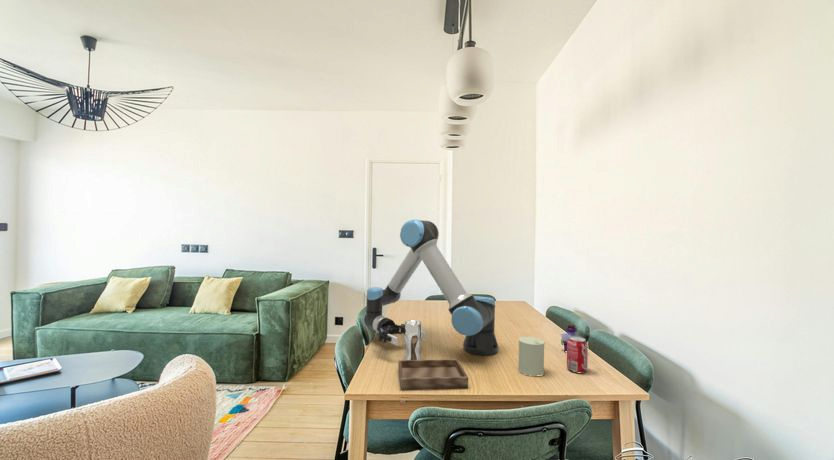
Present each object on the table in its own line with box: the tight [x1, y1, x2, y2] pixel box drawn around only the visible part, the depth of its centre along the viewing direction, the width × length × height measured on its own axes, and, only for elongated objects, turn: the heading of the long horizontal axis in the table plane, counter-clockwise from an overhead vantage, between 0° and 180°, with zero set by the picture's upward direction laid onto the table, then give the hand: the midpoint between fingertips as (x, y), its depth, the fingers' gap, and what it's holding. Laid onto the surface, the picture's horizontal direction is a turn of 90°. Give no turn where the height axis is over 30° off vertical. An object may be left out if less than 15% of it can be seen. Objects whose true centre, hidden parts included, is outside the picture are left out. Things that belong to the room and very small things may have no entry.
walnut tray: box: [397, 358, 469, 391], centre depth 116 cm, size 22×16×4 cm
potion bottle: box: [560, 323, 582, 352], centre depth 145 cm, size 9×9×12 cm
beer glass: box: [403, 319, 423, 360], centre depth 132 cm, size 7×7×15 cm
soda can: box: [566, 336, 589, 373], centre depth 125 cm, size 7×7×12 cm
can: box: [517, 336, 545, 377], centre depth 124 cm, size 9×9×12 cm
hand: (411, 338), depth 132 cm, fingers open, 13 cm apart
